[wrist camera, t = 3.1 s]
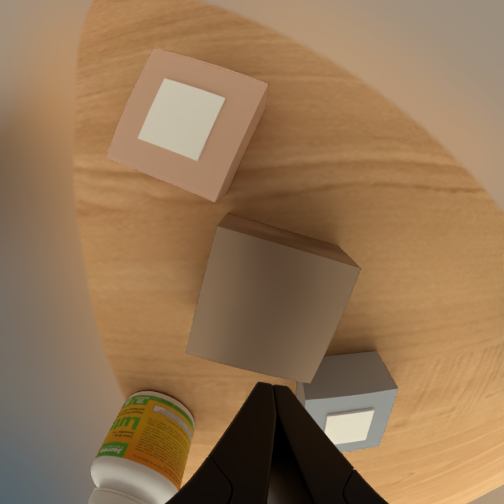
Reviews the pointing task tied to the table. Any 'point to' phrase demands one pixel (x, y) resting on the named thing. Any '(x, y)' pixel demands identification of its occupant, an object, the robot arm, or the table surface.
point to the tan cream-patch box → (188, 123)
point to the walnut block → (270, 299)
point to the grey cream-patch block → (350, 399)
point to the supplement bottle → (143, 452)
